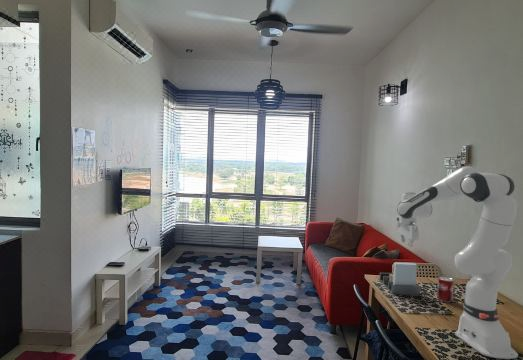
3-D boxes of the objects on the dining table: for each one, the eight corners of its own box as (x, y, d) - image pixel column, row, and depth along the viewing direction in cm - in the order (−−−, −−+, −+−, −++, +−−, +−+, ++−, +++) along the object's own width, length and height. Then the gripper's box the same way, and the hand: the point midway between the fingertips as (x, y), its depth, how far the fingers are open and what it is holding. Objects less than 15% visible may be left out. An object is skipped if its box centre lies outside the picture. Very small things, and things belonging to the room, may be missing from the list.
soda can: (448, 297, 173) (449, 276, 172) (454, 303, 166) (456, 281, 165) (434, 296, 174) (436, 275, 173) (440, 302, 166) (442, 280, 166)
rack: (420, 295, 175) (420, 286, 175) (391, 293, 175) (392, 285, 175) (403, 280, 197) (403, 272, 196) (378, 279, 197) (378, 271, 197)
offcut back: (407, 285, 185) (407, 276, 184) (390, 285, 185) (390, 275, 185) (405, 284, 187) (405, 274, 187) (388, 283, 188) (389, 274, 187)
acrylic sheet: (415, 291, 176) (417, 264, 175) (394, 291, 177) (395, 264, 176) (413, 290, 179) (414, 263, 178) (392, 289, 179) (394, 262, 178)
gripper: (422, 224, 165) (421, 249, 166) (405, 217, 185) (404, 239, 186) (410, 223, 165) (409, 249, 166) (395, 217, 186) (394, 239, 186)
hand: (406, 244), depth 176 cm, fingers open, 8 cm apart
